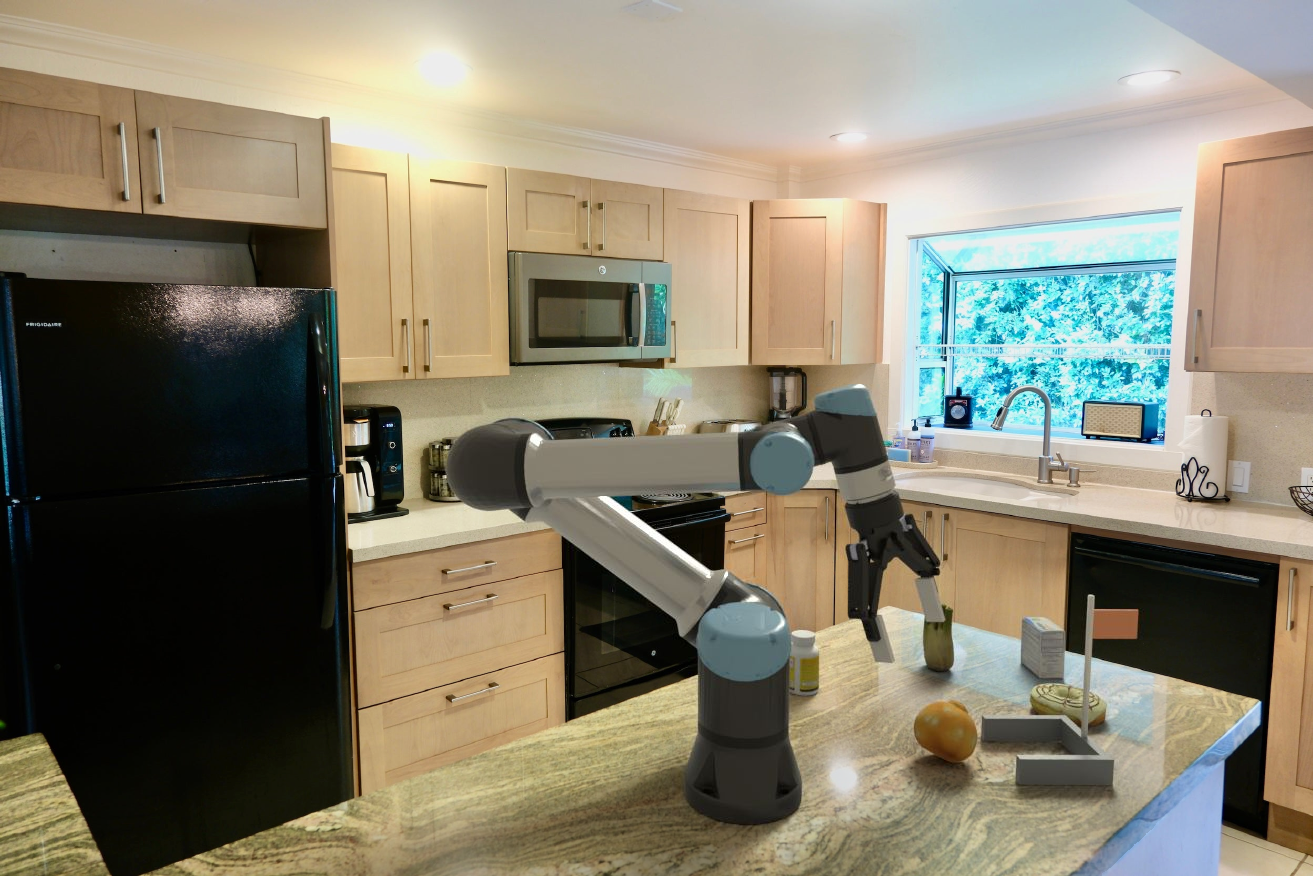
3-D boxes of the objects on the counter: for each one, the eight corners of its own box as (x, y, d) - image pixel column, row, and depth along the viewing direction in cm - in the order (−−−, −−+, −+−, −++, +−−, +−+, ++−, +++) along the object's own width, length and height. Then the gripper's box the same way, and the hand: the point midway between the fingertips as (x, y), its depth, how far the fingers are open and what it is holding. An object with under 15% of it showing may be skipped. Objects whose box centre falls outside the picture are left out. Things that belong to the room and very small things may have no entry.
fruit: (950, 742, 121) (952, 689, 120) (989, 769, 113) (991, 712, 112) (902, 751, 118) (903, 697, 118) (938, 778, 111) (940, 721, 110)
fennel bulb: (918, 663, 152) (920, 599, 151) (944, 661, 153) (946, 598, 151) (932, 675, 146) (934, 608, 145) (958, 673, 147) (961, 607, 146)
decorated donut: (1100, 737, 123) (1101, 712, 123) (1023, 719, 129) (1024, 695, 129) (1109, 712, 132) (1110, 689, 131) (1036, 696, 138) (1037, 674, 137)
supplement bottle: (823, 688, 141) (824, 632, 140) (811, 699, 136) (812, 641, 135) (793, 681, 144) (794, 626, 143) (781, 692, 139) (781, 635, 138)
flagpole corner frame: (1019, 784, 109) (1026, 610, 107) (981, 737, 122) (987, 582, 120) (1157, 785, 109) (1168, 610, 106) (1104, 738, 122) (1112, 582, 120)
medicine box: (1064, 679, 144) (1066, 631, 143) (1038, 679, 144) (1040, 631, 143) (1044, 662, 152) (1046, 616, 151) (1019, 662, 152) (1021, 616, 151)
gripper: (839, 523, 104) (885, 682, 105) (939, 467, 120) (978, 606, 121) (794, 526, 109) (838, 677, 111) (895, 472, 126) (932, 605, 127)
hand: (911, 640), depth 116 cm, fingers open, 13 cm apart
